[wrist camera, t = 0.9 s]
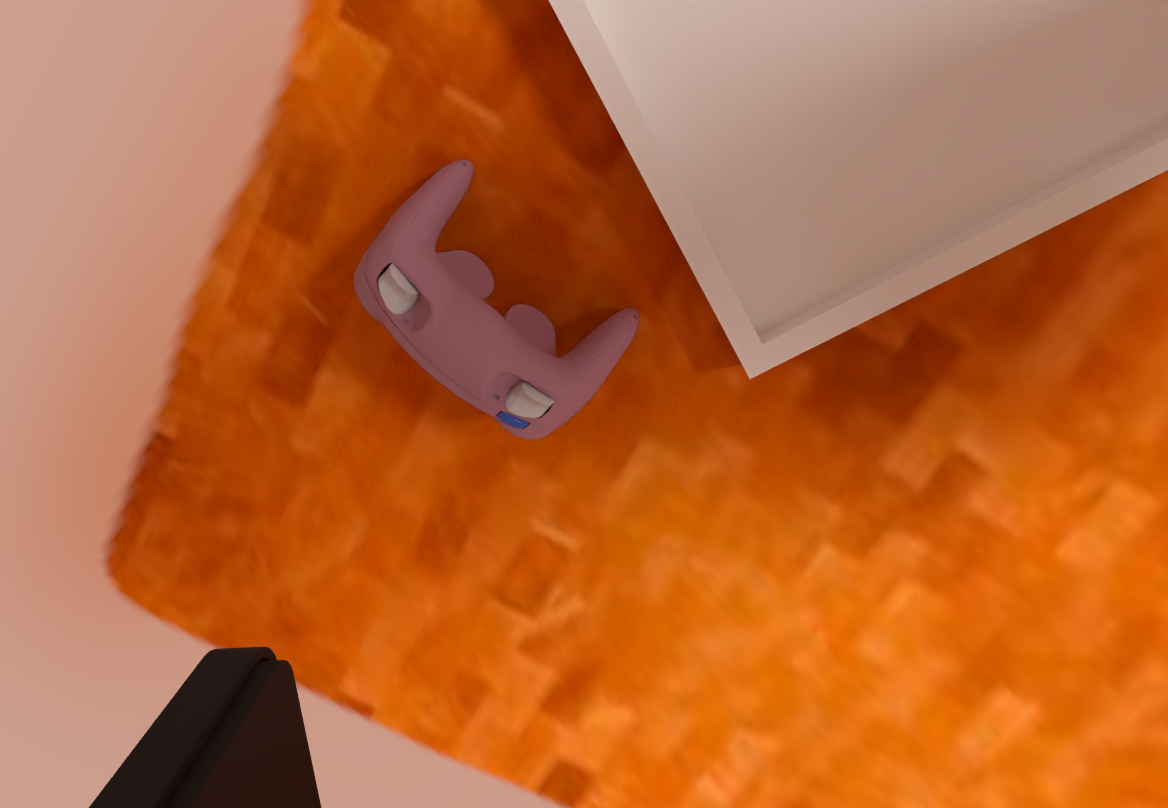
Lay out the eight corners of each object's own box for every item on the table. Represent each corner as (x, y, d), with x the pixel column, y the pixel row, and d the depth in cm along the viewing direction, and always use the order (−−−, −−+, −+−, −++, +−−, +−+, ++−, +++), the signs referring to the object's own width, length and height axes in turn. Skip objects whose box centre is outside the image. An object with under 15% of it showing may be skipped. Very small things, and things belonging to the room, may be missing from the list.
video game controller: (410, 215, 34) (308, 305, 29) (461, 138, 31) (357, 224, 26) (591, 372, 35) (525, 483, 30) (658, 314, 32) (595, 427, 27)
